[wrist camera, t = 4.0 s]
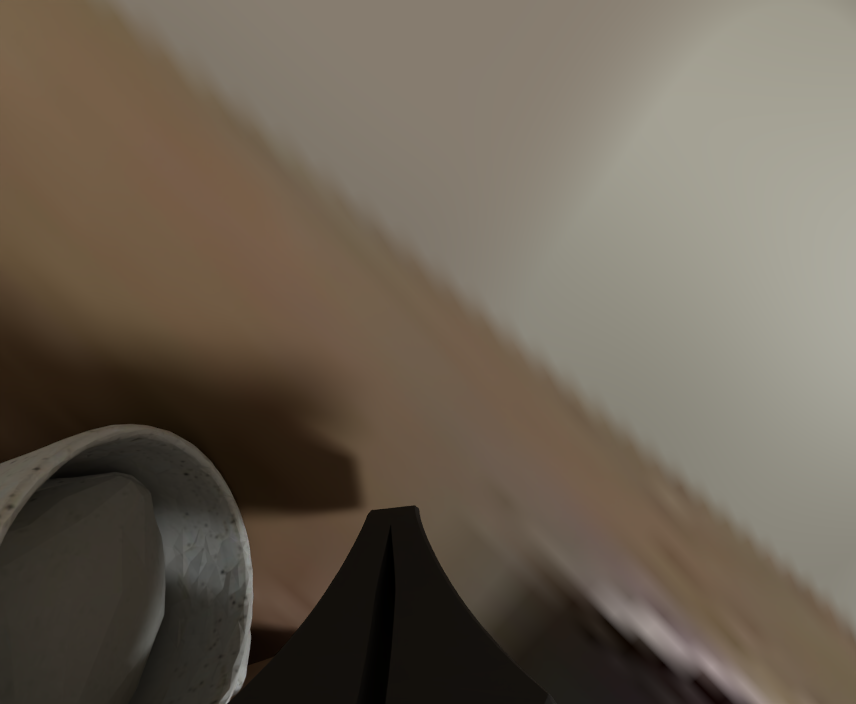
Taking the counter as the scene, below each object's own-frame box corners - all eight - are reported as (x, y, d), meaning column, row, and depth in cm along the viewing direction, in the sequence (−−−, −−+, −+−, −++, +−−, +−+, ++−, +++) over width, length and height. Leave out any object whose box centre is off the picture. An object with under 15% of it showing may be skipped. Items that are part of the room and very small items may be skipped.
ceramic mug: (-85, 469, 13) (-701, 804, 6) (164, 373, 13) (-163, 607, 5) (119, 697, 16) (-106, 1091, 9) (323, 628, 16) (256, 987, 9)
